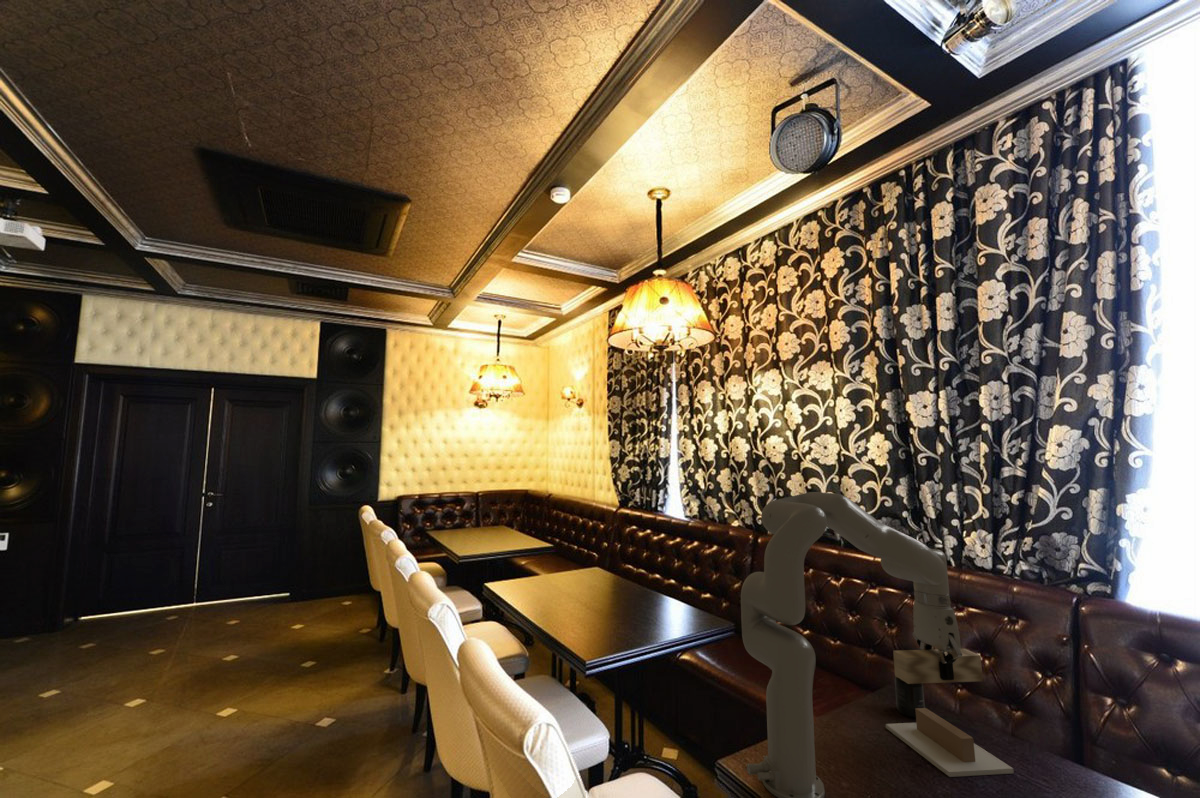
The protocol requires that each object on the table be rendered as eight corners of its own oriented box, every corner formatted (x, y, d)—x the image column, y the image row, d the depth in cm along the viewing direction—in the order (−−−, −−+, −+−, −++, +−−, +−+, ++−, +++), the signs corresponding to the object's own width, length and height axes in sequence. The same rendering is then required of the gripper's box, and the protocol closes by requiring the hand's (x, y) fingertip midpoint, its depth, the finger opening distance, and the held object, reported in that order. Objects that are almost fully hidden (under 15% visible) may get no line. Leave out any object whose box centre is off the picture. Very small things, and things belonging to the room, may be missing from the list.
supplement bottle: (929, 721, 128) (925, 674, 130) (900, 716, 130) (897, 670, 132) (921, 709, 135) (917, 664, 137) (893, 704, 137) (890, 661, 139)
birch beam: (967, 673, 121) (964, 648, 122) (983, 681, 117) (980, 655, 117) (895, 675, 119) (893, 650, 120) (908, 683, 115) (906, 657, 115)
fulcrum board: (949, 776, 105) (946, 747, 106) (885, 728, 124) (884, 703, 125) (1013, 773, 106) (1010, 744, 107) (941, 725, 126) (939, 701, 127)
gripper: (974, 608, 113) (982, 690, 110) (919, 590, 129) (925, 660, 127) (946, 608, 112) (953, 691, 109) (894, 590, 128) (899, 661, 126)
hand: (938, 674), depth 118 cm, fingers closed on birch beam, 4 cm apart
